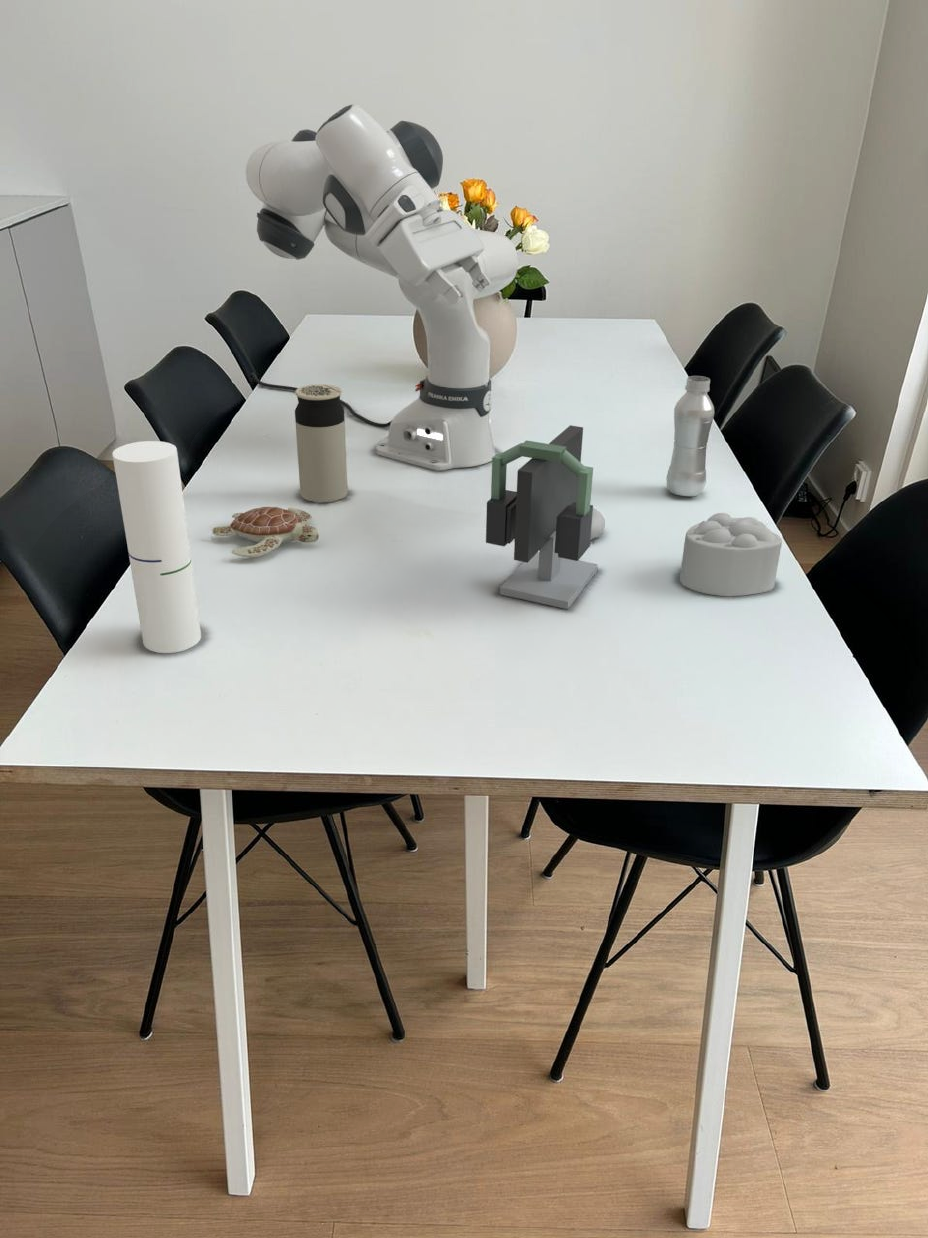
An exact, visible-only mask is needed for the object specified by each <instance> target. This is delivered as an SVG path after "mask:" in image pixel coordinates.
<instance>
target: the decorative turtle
mask: <svg viewBox="0 0 928 1238" xmlns="http://www.w3.org/2000/svg"><path fill="white" fill-rule="evenodd" d="M231 518H233V520H232V522H231V523H230V525H221V526H214V527H213V528H212V529H211V532H212V534H213V535H215V536H218V537H230V536H235V535H236V536H240V537H242V538H243V539H247V540H250V541H252V542H256V544H253V545H247V546H242V547H235V548H232V549H231V554H232V555H235V556H239V557H244V558H258V557H260V556H264V555H266V554H268V553H270V552H272V551H275V550H276V549H278V548H279V547H280V546H281V544H283V543H290V542H296V541H298V542H300V543H303V544H304V543H305V544H310V543H314V542H316V541H318V540H319V537H320V536H319V533H318V530H317V528H316V527H314V526H311V525H308V524H309V523H310V522H311V520H312V515H311V514H310V513H309V512H306V511H304V510H303V509H299V508H294V507H288V508H287V509H285V508H282V507H278V506H261V507H256V508H252V509H250V510H248V511H245V512H236V513H233V514H232V515H231Z"/></svg>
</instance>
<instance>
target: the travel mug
mask: <svg viewBox="0 0 928 1238" xmlns="http://www.w3.org/2000/svg"><path fill="white" fill-rule="evenodd" d="M297 388H298V389H297V390H296V391H294V394H295V396H296V397H297V398H296V399H297V405H296V408H295V409H294V421H295V432H296V433H295V435H296V449H297V451H296V452H297V464H298V479H299V481H298V482H299V492H300V494H299V495H300V496H301V498H303V499H305V500H306V501H310V502H313V503H319V504H320V503H321V504H322V503H323V504H325V503H333V502H337V501H340V500H341V499H343V498H345V497H346V496H348V493H349V489H348V488H349V487H348V486H349V485H348V466H347V464H348V463H347V444H346V419H345V417H346V416H345V408H344V406H343V405H342V404H341V403H340V400H341V395H342V393H343V390H342V389H341V388H340V387H339V386H337V385H333V384H326V383H325V384H322V383H318V384H317V383H316V384H314V383H313V384H308V385H303V386H300V387H297Z"/></svg>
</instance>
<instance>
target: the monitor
mask: <svg viewBox="0 0 928 1238" xmlns="http://www.w3.org/2000/svg"><path fill="white" fill-rule="evenodd" d="M583 437H584V427H583V426H577V425H571V424H570V425H569V426H568V427H566V428H565V429H564V430H563V431H562V432H561V433H559V434H558V435H557V436H555V438H553V439H552V440H551V441H550V442H549V443H548V444H552V445H558V446H565V447H566V450H567V451H568V452H569V453H570V454H571V455H572V456H574V457H575V458H576V459H577V460H578V461H579V462H580V463H582V450H583ZM516 473H517V475H516V492H517V497H516V520H515V539H514V546H513V547H514V548H513V561H516V562H517V561H518V562H522V563H521V564H520V565H519V566H518V567H517V568H516V569H515V570H514V571H513V573H512V574H510V576H509V577H508V578H507V579H506V580H504V582H503V584H501V585H500V586H499V595H500V596H505V597H510V598H514V599H519V600H524V601H528V602H533V603H537V604H540V605H541V604H542V605H545V606H551V607H555V608H560V609H564V610H568V609H569V608H570V607H571V606H572V604H573V603H574V602H575V601H576V600H577V598H578V597H579V595H580V594H581V593H582V591H583V590H584V589H585V588H586V586H587V585H588V584H589V582H590V581H591V580H592V578H593V577H594V576H595V575H596V574H597V572H598V569H599V568H598V566H599V564H598V563H595V562H590V561H585V560H580V559H579V560H578V561H574V560H569V559H564V558H559V557H558V553H555V537H556V521H557V516H558V515H559V514H560V513H561V512H562V511H563V510H564V509H565V508H566V507H567V506H568V505H571V504H572V503H573V502H576V503H577V490H578V477H577V476H576V475H575V474H574V473H573V472H572V471H570V470H569V469H568V468H567V467H566V466H565V465H564V464H562V463H561V462H560V463H559V462H553V461H547V460H541V459H535V458H529V460H528V461H527V462H525V463H524V464H523V465H522V466H521V467H520V468H519V469H517V472H516Z"/></svg>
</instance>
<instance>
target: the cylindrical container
mask: <svg viewBox="0 0 928 1238" xmlns="http://www.w3.org/2000/svg"><path fill="white" fill-rule="evenodd" d="M111 456H112V460H113V467H114V473H115V479H116V485H117V490H118V497H119V503H120V509H121V516H122V521H123V527H124V533H125V539H126V544H127V552H128V558H129V564H130V571H131V575H132V583H133V589H134V595H135V600H136V607H137V612H138V613H137V614H138V619H139V625H140V626H139V627H140V631H141V638H142V643H143V646H144V648H145V649H147V650H148V651H151V652H153V653H158V654H173V653H174V654H175V653H179V652H184V651H186V650H189V649H191V648H193V647H195V646H196V645H197V644H198V643H199V642H200V641H201V638H202V630H201V623H200V616H199V608H198V601H197V593H196V585H195V577H194V570H193V562H192V554H191V547H190V539H189V532H188V524H187V515H186V508H185V501H184V495H183V494H184V493H183V487H182V478H181V471H180V461H179V455H178V449H177V447H176V445H175V444H173V443H171V442H166V441H160V440H143V441H136V442H131V443H126V444H124V445H121V446H118V447H117V448H115V449H114V450H113V451H112V454H111Z"/></svg>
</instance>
